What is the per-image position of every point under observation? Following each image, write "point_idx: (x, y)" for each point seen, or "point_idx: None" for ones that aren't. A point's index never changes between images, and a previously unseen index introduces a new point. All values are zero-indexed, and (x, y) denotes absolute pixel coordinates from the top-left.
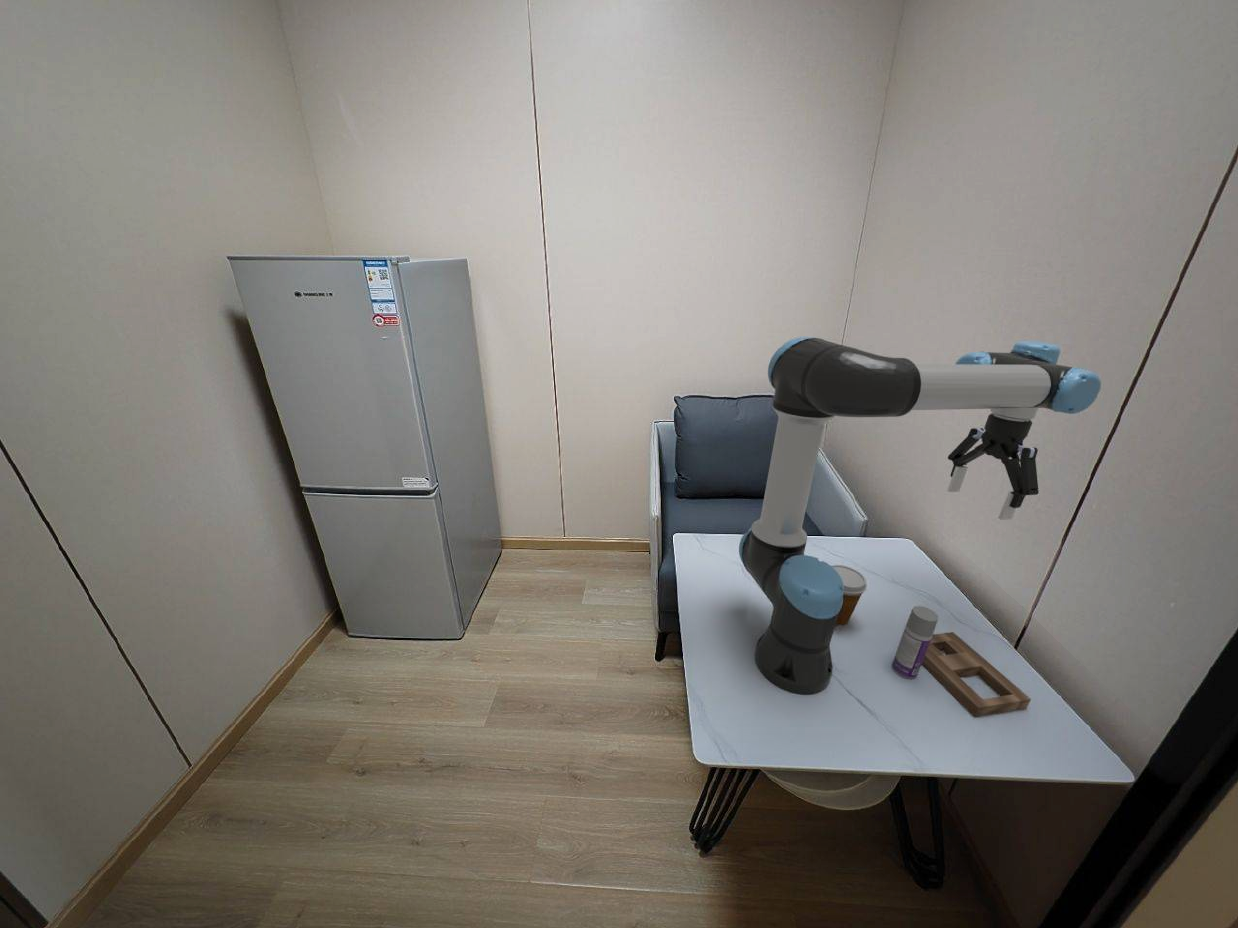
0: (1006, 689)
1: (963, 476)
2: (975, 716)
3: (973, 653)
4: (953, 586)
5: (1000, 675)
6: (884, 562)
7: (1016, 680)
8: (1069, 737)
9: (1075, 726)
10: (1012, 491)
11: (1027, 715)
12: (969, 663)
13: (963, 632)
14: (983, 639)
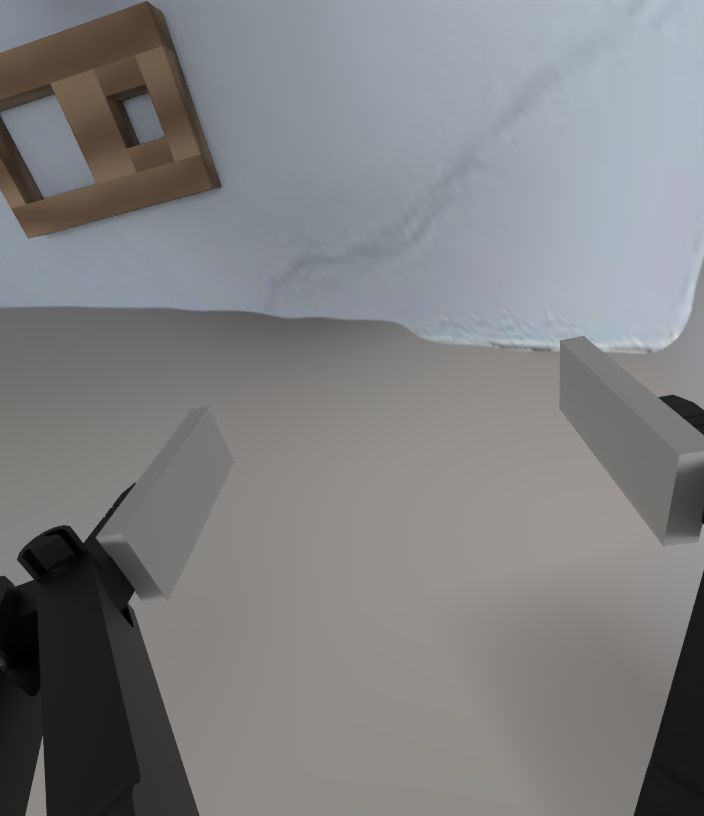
0: (40, 200)
1: (613, 470)
2: None
3: (138, 193)
4: (440, 336)
5: (81, 215)
6: (571, 186)
7: (126, 269)
8: (3, 270)
9: (38, 301)
10: (137, 557)
11: None
12: (96, 156)
13: (260, 246)
14: (244, 281)
